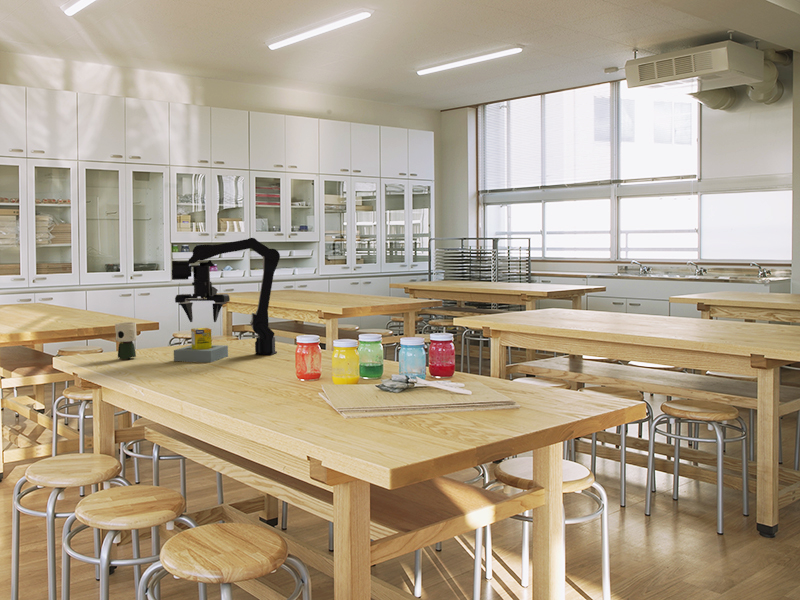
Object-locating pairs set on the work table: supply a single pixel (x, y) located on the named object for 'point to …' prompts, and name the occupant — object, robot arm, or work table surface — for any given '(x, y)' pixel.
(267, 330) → the robot arm
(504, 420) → the work table surface
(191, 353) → the block
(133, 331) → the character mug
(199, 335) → the supplement box
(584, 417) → the work table surface
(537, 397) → the work table surface
